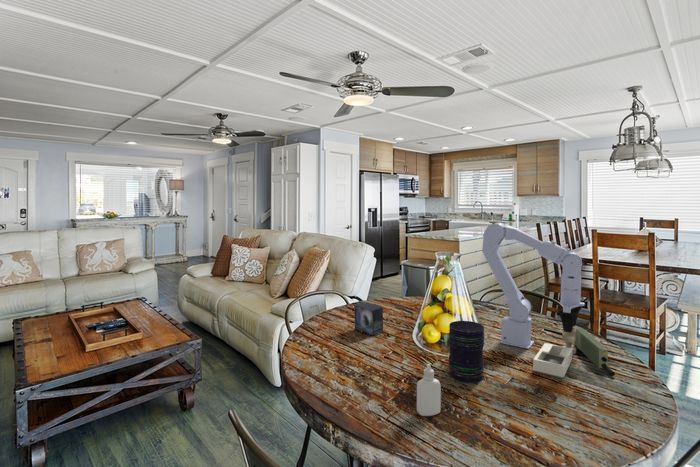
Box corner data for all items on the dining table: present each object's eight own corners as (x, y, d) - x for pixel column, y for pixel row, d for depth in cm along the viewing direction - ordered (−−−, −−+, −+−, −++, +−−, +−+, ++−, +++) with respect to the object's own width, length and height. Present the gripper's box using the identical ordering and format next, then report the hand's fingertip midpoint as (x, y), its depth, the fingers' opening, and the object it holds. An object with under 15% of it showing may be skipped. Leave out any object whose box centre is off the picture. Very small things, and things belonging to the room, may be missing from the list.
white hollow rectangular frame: (563, 378, 108) (563, 366, 108) (533, 371, 113) (533, 359, 113) (572, 359, 120) (572, 348, 120) (544, 353, 125) (544, 342, 125)
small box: (353, 330, 151) (353, 304, 150) (365, 326, 156) (364, 301, 155) (372, 336, 144) (372, 309, 143) (383, 332, 148) (383, 306, 147)
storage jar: (483, 370, 114) (484, 322, 113) (483, 385, 105) (484, 333, 103) (449, 366, 117) (450, 319, 116) (447, 380, 108) (447, 329, 107)
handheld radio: (583, 345, 133) (619, 378, 108) (573, 345, 133) (606, 378, 109) (583, 327, 132) (619, 356, 108) (572, 327, 133) (606, 355, 108)
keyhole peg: (559, 352, 126) (560, 329, 126) (562, 348, 130) (563, 326, 129) (575, 355, 124) (575, 332, 123) (577, 351, 127) (577, 328, 127)
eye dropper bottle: (417, 406, 95) (417, 359, 94) (440, 408, 93) (441, 362, 92) (416, 415, 91) (416, 367, 90) (440, 418, 89) (440, 369, 88)
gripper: (581, 294, 117) (580, 337, 118) (587, 286, 128) (586, 325, 129) (556, 291, 121) (555, 333, 122) (564, 283, 133) (563, 321, 134)
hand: (569, 328), depth 126 cm, fingers open, 7 cm apart
